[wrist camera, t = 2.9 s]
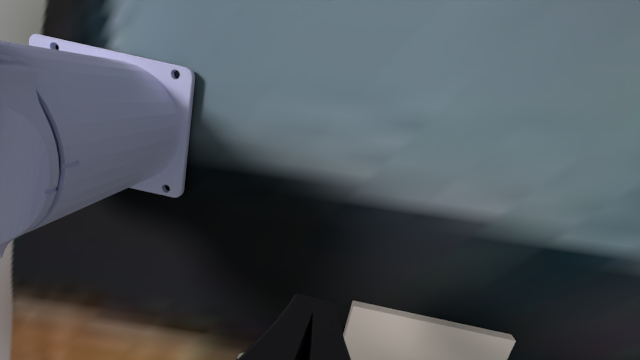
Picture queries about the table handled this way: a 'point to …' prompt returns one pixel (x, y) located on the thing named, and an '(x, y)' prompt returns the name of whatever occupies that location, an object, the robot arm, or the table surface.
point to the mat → (418, 337)
